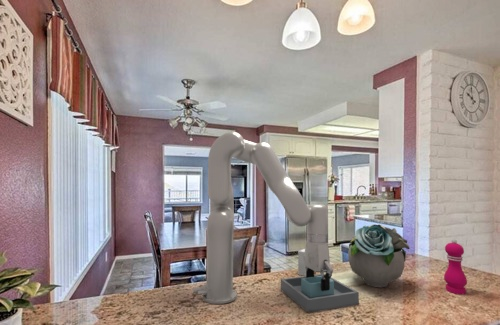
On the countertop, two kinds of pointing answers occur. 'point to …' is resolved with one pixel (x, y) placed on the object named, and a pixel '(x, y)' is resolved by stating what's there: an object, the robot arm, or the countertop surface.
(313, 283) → the small crate
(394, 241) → the flower arrangement
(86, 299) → the countertop surface
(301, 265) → the small box
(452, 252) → the pepper mill
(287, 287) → the gray square tray
